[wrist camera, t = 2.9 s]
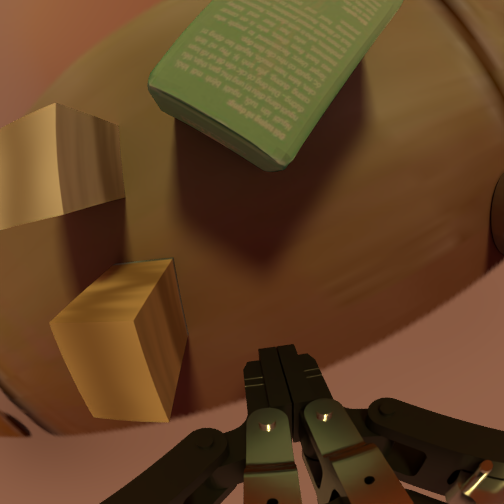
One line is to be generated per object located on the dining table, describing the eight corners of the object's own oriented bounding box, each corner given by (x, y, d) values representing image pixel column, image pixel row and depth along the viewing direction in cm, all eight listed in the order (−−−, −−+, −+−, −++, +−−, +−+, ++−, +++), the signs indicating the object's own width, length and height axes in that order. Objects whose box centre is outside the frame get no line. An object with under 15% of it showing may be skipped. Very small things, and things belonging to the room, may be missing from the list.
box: (169, 118, 17) (135, 87, 10) (277, -13, 14) (298, -73, 7) (264, 175, 18) (287, 176, 11) (360, 37, 16) (410, -5, 9)
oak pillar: (173, 257, 19) (133, 320, 11) (188, 333, 21) (169, 422, 12) (114, 263, 19) (49, 323, 10) (133, 336, 21) (93, 417, 12)
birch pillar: (118, 125, 17) (55, 102, 9) (125, 197, 18) (63, 214, 10) (60, 142, 16) (-14, 136, 9) (66, 209, 18) (-5, 231, 10)
